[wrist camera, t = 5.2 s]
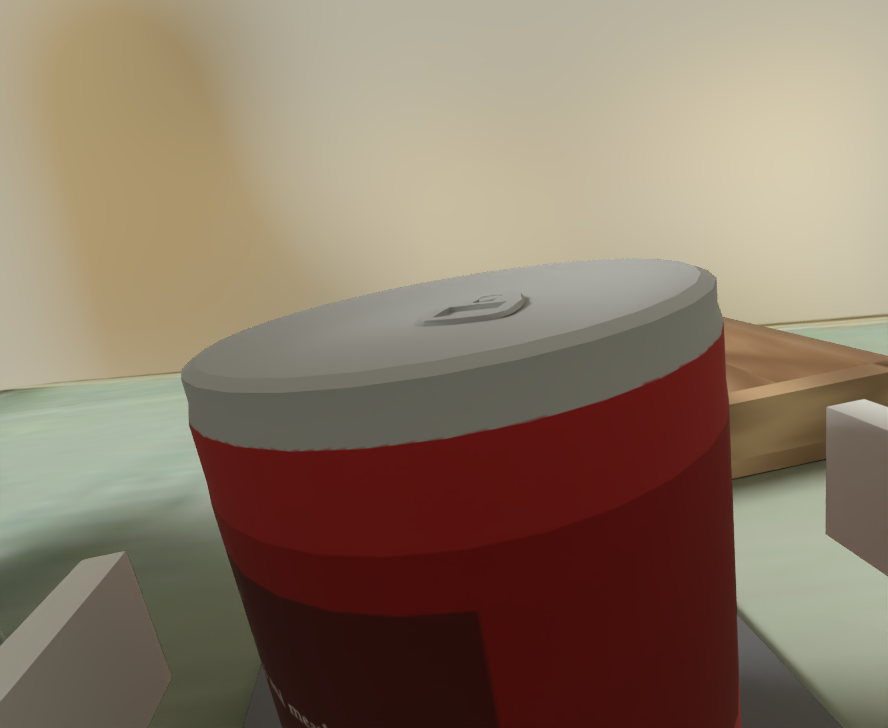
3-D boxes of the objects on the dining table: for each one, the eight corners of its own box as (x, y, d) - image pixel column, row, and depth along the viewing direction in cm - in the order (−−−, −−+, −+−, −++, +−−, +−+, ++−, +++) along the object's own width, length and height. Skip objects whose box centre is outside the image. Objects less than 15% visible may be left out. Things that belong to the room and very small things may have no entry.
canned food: (677, 665, 14) (645, 245, 11) (862, 1193, 7) (894, 309, 4) (398, 673, 15) (310, 299, 13) (281, 1120, 8) (2, 426, 5)
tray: (462, 536, 22) (448, 462, 21) (430, 411, 37) (421, 366, 36) (920, 438, 23) (924, 364, 22) (704, 357, 38) (702, 312, 38)
